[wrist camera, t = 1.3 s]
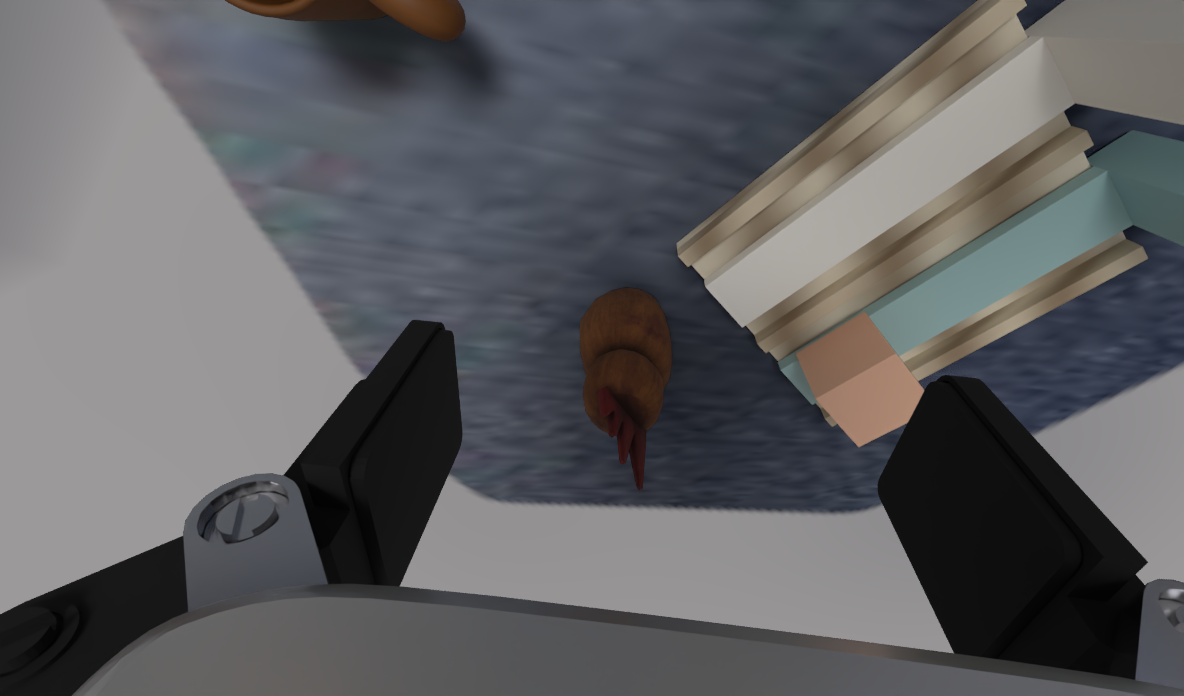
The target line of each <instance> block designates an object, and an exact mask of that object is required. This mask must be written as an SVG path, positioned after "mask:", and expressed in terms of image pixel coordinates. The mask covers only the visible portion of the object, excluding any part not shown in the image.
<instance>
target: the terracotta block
mask: <svg viewBox="0 0 1184 696" xmlns="http://www.w3.org/2000/svg"><path fill="white" fill-rule="evenodd" d="M796 356H797V358H798V360H799V363H800V365H801V367H802V370H803V372H804V374H805V376H806V379H807V381H808V383H809V386H810V388H811V390H812V392H813V395H814V397H815V399H816V400H817V401H818V402H819V404H820V405H821V406H822V407H823V408H824V409H825V410H826V411H827V412H828V414H829V415H830V416H831V417H832V418H833V419H834V420H835V421H836V422H837V424H838V425H839V426H840V427H841V428H842V429H843V430H844V431H845V433H846V434H847V435H848V436H849V437H850V438H851V439H852V440H853V441H854V443H855V444H856V445H857V446H858V447H860V446H862V445H864V444H866V443H868V442H870V441H872V440H874V439H876V438H878V437H880V436H882V435H884V434H886V433H888V432H890V431H892V430H894V429H896V428H898V427H900V426H902V425H904V424H906V423H908V422H909V420H910V418H911V416H912V414H913V412H914V410H915V408H916V406H917V404H918V402H919V400H920V398H921V396H922V394H923V392H924V391H925V390H924V388H923V387H922V386H921V384H920V383H919V382H918V380H917V379H916V378H915V376H914V375H913V374H912V372H911V371H910V370H909V368H908V367H907V366H906V364H905V363H904V362H903V360H902V359H901V358H900V356H899V355H898V354H897V352H896V351H895V350H894V349H893V347H892V346H891V345H890V343H889V342H888V341H887V340H886V338H885V337H884V336H883V334H882V333H881V332H880V330H879V329H878V328H877V327H876V325H875V324H874V323H873V321H872V320H871V319H870V318H869V316H868V315H867V314H866V312H865V311H864V312H863V313H861V314H859V315H858V316H856V317H854V318H853V319H851V320H850V321H848V322H846V323H845V324H843V325H842V326H840V327H838V328H837V329H835V330H833V331H832V332H830V333H829V334H827V335H825V336H824V337H822V338H820V339H819V340H817V341H816V342H814V343H812V344H811V345H809V346H807V347H806V348H804V349H803V350H801V351H799V352H798V353H796Z"/></svg>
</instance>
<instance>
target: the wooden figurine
mask: <svg viewBox="0 0 1184 696" xmlns="http://www.w3.org/2000/svg"><path fill="white" fill-rule="evenodd" d="M580 353H581V357H582V362H583V366H584V371H585V373H586V378H585V383H584V387H583V398H584V406H585V411H586V413H587V414H588V416H589V418H590V419H591V421H592V422H593V423H594V424H595V425H596V426H597V427H598V428H599V429H601V430H603V431H604V432H606V433H608V434H609V436H610V437H611V438H612V437H614V436H617V441H618V451H619V460H620V463H621V464H624V463H626V460H627V457H628V453H630V458H631V463H632V468H633V472H634V477H635V482H636V486H637V488H638V490H641V489H642V488H643V478H644V463H645V449H646V431H647V430H649V429H650V428H651V427H652V426H653V424H654V423H655V422H656V421H657V419H658V417H659V414H660V411H661V409H662V406H663V389H664V388H665V386H666V385H667V383H668V381H669V379H670V373H671V366H672V346H671V338H670V332H669V328H668V325H667V321H666V318H665V314H664V312H663V310H662V309H661V307H660V305H659V304H658V302H657V301H656V299H655V298H654V297H653V296H651V295H649V294H648V293H646V292H644V291H643V290H641V289H635V288H629V287H625V288H620V289H616V290H612V291H610V292H608V293H606V294H604V295H602V296H600V297H599V298H597V299H596V300H595V301H594V302H593V304H592V305H591V306H590V308H589V309H588V310H587V312H586V313H585V314H584V316H583V317H582V319H581V323H580Z"/></svg>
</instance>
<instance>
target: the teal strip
mask: <svg viewBox="0 0 1184 696" xmlns="http://www.w3.org/2000/svg"><path fill="white" fill-rule="evenodd" d="M1087 160H1088V162H1089V164H1090V166H1091V168H1090V169H1089V170H1087V171H1085V172H1084V173H1082V174H1081V175H1079V176H1077V177H1076V178H1074V179H1073V180H1071V181H1069V182H1068V183H1066V184H1064V185H1063V186H1061V187H1060V188H1058V189H1056V190H1055V191H1053V192H1052V193H1050V194H1048V195H1047V196H1045V197H1043V198H1042V199H1040V200H1039V201H1037V202H1035V203H1034V204H1032V205H1031V206H1029V207H1027V208H1026V209H1024V210H1022V211H1021V212H1019V213H1018V214H1016V215H1014V216H1013V217H1011V218H1010V219H1008V220H1006V221H1005V222H1003V223H1001V224H1000V225H998V226H997V227H995V228H993V229H992V230H990V231H989V232H987V233H985V234H984V235H982V236H981V237H979V238H977V239H976V240H974V241H972V242H971V243H969V244H968V245H966V246H964V247H963V248H961V249H960V250H958V251H956V252H955V253H953V254H951V255H950V256H948V257H947V258H945V259H943V260H942V261H940V262H939V263H937V264H935V265H934V266H932V267H930V268H929V269H927V270H926V271H924V272H922V273H921V274H919V275H918V276H916V277H914V278H913V279H911V280H909V281H908V282H906V283H905V284H903V285H901V286H900V287H898V288H897V289H895V290H893V291H892V292H890V293H888V294H887V295H885V296H884V297H882V298H880V299H879V300H877V301H876V302H874V303H872V304H871V305H869V306H868V307H866V308H864V309H863V310H861V311H859V312H858V313H856V314H855V315H853V316H851V317H850V318H848V319H847V320H845V321H843V322H842V323H840V324H838V325H837V326H835V327H834V328H832V329H830V330H829V331H827V332H826V333H824V334H822V335H821V336H819V337H817V338H816V339H814V340H813V341H811V342H809V343H808V344H806V345H805V346H803V347H801V348H800V349H798V350H796V351H795V352H793V353H792V354H790V355H788V356H787V357H785V358H784V359H782V360H780V361H779V362H778V365H779V367H780V370H781V371H782V372H783V373H784V375H785V376H786V377H787V378H788V379H789V380H790V381H791V382H792V383H793V384H794V386H795V387H796V388H797V389H798V390H799V391H800V392H801V393H802V394H803V396H804V397H805V398H806V399H807V400H808V401H809V402H810V403H811V404H812V405H813V404H815V403H817V402H818V401H817V400H816V399H815V397H814V395H813V392H812V390H811V388H810V386H809V383H808V381H807V379H806V376H805V374H804V372H803V370H802V367H801V365H800V363H799V360H798V358H797V356H796V353H798V352H799V351H801V350H803V349H804V348H806V347H807V346H809V345H811V344H812V343H814V342H816V341H817V340H819V339H820V338H822V337H824V336H825V335H827V334H829V333H830V332H832V331H833V330H835V329H837V328H838V327H840V326H842V325H843V324H845V323H846V322H848V321H850V320H851V319H853V318H854V317H856V316H858V315H859V314H861V313H863V312H864V311H865V312H866V314H867V315H868V316H869V318H870V319H871V320H872V321H873V323H874V324H875V325H876V327H877V328H878V329H879V330H880V332H881V333H882V334H883V336H884V337H885V338H886V340H887V341H888V342H889V343H890V345H891V346H892V347H893V349H894V350H895V351H896V352H897V354H898V355H899V356H900V355H902V354H904V353H906V352H908V351H909V350H911V349H913V348H915V347H916V346H918V345H920V344H922V343H924V342H925V341H927V340H929V339H931V338H932V337H934V336H936V335H938V334H940V333H941V332H943V331H945V330H947V329H949V328H950V327H952V326H954V325H956V324H957V323H959V322H961V321H963V320H965V319H966V318H968V317H970V316H972V315H973V314H975V313H977V312H979V311H981V310H982V309H984V308H986V307H988V306H989V305H991V304H993V303H995V302H997V301H998V300H1000V299H1002V298H1004V297H1006V296H1007V295H1009V294H1011V293H1013V292H1014V291H1016V290H1018V289H1020V288H1022V287H1023V286H1025V285H1027V284H1029V283H1030V282H1032V281H1034V280H1036V279H1038V278H1039V277H1041V276H1043V275H1045V274H1047V273H1048V272H1050V271H1052V270H1054V269H1055V268H1057V267H1059V266H1061V265H1063V264H1064V263H1066V262H1068V261H1070V260H1071V259H1073V258H1075V257H1077V256H1079V255H1080V254H1082V253H1084V252H1086V251H1087V250H1089V249H1091V248H1093V247H1095V246H1096V245H1098V244H1100V243H1102V242H1104V241H1105V240H1107V239H1109V238H1111V237H1112V236H1114V235H1116V234H1118V233H1120V232H1121V231H1123V230H1125V229H1127V228H1128V227H1130V226H1132V225H1135V226H1137V227H1139V228H1142V229H1144V230H1146V231H1149V232H1151V233H1153V234H1156V235H1158V236H1161V237H1163V238H1165V239H1168V240H1170V241H1172V242H1175V243H1177V244H1179V245H1182V246H1184V142H1183V141H1178V140H1174V139H1170V138H1165V137H1161V136H1157V135H1152V134H1148V133H1144V132H1139V131H1135V130H1131V131H1130V132H1128V133H1127V134H1125V135H1123V136H1122V137H1120V138H1119V139H1117V140H1115V141H1114V142H1112V143H1111V144H1109V145H1108V146H1106V147H1104V148H1103V149H1101V150H1100V151H1098V152H1096V153H1095V154H1093V155H1092V156H1090V157H1088V158H1087Z"/></svg>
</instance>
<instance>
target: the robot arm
mask: <svg viewBox="0 0 1184 696" xmlns="http://www.w3.org/2000/svg"><path fill="white" fill-rule="evenodd" d="M461 442H462V422H461V411H460V400H459V389H458V378H457V367H456V356H455V345H454V336H453V333H452V331H449V330H445V327H444V325H443V324H442V323H441V322H431V321H421V320H412V321H411V322H410V323H409V324H408V326H407V327H406V328H405V330H404V331H403V332H402V333H401V335H400V336H399V337H398V339H397V340H396V341H395V342H394V344H393V345H392V346H391V347H390V349H389V350H388V351H387V353H386V354H385V355H384V356H383V358H382V359H381V360H380V362H379V363H378V364H377V365H376V367H375V368H374V369H373V371H372V372H371V373H370V374H369V376H368V377H367V378H366V379H364V380H361V381H359V382H358V383H357V384H356V385H355V386H354V387H353V389H352V390H351V391H350V392H349V394H348V395H347V397H346V398H345V399H344V400H343V401H342V403H341V404H340V405H339V406H338V408H337V409H336V410H335V411H334V413H333V414H332V415H331V416H330V418H329V419H328V420H327V421H326V423H325V424H324V425H323V426H322V428H321V429H320V430H319V431H318V433H317V434H316V435H315V437H314V438H313V439H312V440H311V442H310V443H309V444H308V445H307V446H306V448H305V449H304V450H303V451H302V453H301V454H300V455H299V457H298V458H297V459H296V460H295V462H294V463H293V464H292V465H291V467H290V468H289V469H288V470H287V472H286V473H285V474H284V475H277V474H272V473H269V474H254V475H250V476H246V477H242V478H238V479H236V480H233V481H231V482H229V483H226V484H224V485H222V486H220V487H219V488H217V489H216V490H214V491H213V492H211V493H209V494H208V495H206V496H205V497H204V498H203V499H202V500H201V501H200V502H199V503H198V504H197V505H196V506H195V507H194V508H193V509H192V511H191V513H190V514H189V516H188V517H187V519H186V520H185V526H184V531H183V536H182V537H179V538H177V539H175V540H172V541H170V542H167V543H165V544H162V545H160V546H158V547H155V548H153V549H151V550H148V551H146V552H143V553H141V554H139V555H136V556H134V557H131V558H129V559H127V560H124V561H122V562H119V563H117V564H115V565H112V566H110V567H108V568H105V569H103V570H100V571H98V572H96V573H93V574H91V575H89V576H86V577H84V578H81V579H79V580H77V581H74V582H72V583H69V584H67V585H65V586H62V587H60V588H57V589H55V590H53V591H50V592H48V593H45V594H44V595H41V596H38V597H36V598H34V599H31V600H29V601H26V602H24V603H22V604H20V605H18V606H16V607H14V608H12V609H11V610H8V611H6V612H4V613H2V614H0V696H1184V583H1183V582H1180V581H1176V580H1167V579H1166V580H1165V579H1157V580H1154V581H1152V582H1149V583H1147V584H1146V585H1144V584H1143V583H1142V581H1141V580H1140V579H1139V578H1138V577H1137V576H1136V575H1135V574H1136V573H1137V572H1138V571H1139V570H1141V568H1143V566H1145V565H1146V564H1147V563H1148V562H1147V561H1146V560H1145V558H1144V557H1143V556H1142V555H1141V554H1140V553H1139V552H1138V551H1137V550H1136V549H1135V548H1134V546H1132V544H1131V543H1130V542H1129V541H1128V540H1127V539H1126V538H1125V537H1124V536H1123V534H1122V533H1121V532H1120V531H1119V530H1118V529H1117V528H1116V527H1115V526H1114V525H1113V524H1112V523H1111V521H1110V520H1109V519H1108V518H1107V517H1106V516H1105V515H1104V514H1103V513H1102V511H1100V509H1099V508H1098V507H1097V506H1096V505H1095V504H1094V503H1093V502H1092V501H1091V499H1090V498H1089V497H1088V496H1087V495H1086V494H1085V493H1084V492H1083V491H1082V490H1081V489H1080V487H1079V486H1078V485H1077V484H1076V483H1075V482H1074V481H1073V480H1072V479H1071V478H1070V477H1069V475H1068V474H1067V473H1066V472H1065V471H1064V470H1063V469H1062V468H1061V467H1060V466H1059V464H1058V463H1057V462H1056V461H1055V460H1054V459H1053V458H1052V457H1051V456H1050V455H1049V454H1048V453H1047V451H1046V450H1045V449H1044V448H1043V447H1042V446H1041V445H1040V444H1039V443H1038V442H1037V441H1036V439H1035V438H1034V437H1033V436H1032V435H1031V434H1030V433H1029V432H1028V431H1027V430H1026V428H1025V427H1024V426H1023V425H1022V424H1021V423H1020V422H1019V421H1018V420H1017V419H1016V418H1015V416H1014V415H1013V414H1012V413H1011V412H1010V411H1009V410H1008V409H1007V408H1006V407H1005V405H1004V404H1003V403H1002V402H1001V401H1000V400H999V399H998V398H997V397H996V396H995V395H994V393H993V392H992V391H991V390H990V389H989V388H988V387H987V386H986V385H985V384H984V383H983V382H982V381H981V380H980V379H976V378H969V377H959V376H950V375H945V376H941V377H940V378H939V379H937V381H936V382H935V381H934V382H931V383H929V384H928V386H927V387H926V389H925V391H924V392H923V394H922V396H921V398H920V400H919V402H918V404H917V406H916V408H915V410H914V412H913V414H912V416H911V418H910V420H909V422H908V424H907V426H906V427H905V429H904V431H903V433H902V435H901V437H900V439H899V441H898V443H897V445H896V447H895V449H894V451H893V453H892V455H891V457H890V459H889V461H888V462H887V464H886V466H885V468H884V470H883V472H882V474H881V476H880V478H879V481H878V495H879V497H880V500H881V502H882V504H883V506H884V508H885V510H886V512H887V514H888V516H889V518H890V520H891V522H892V525H893V527H894V529H895V531H896V533H897V535H898V537H899V539H900V541H901V543H902V546H903V548H904V550H905V552H906V554H907V556H908V558H909V560H910V562H911V564H912V566H913V568H914V570H915V573H916V575H917V577H918V579H919V581H920V583H921V585H922V587H923V589H924V591H925V594H926V596H927V598H928V600H929V602H930V604H931V606H932V608H933V610H934V612H935V614H936V616H937V619H938V620H939V623H940V624H941V627H942V629H943V631H944V633H945V635H946V637H947V639H948V641H949V643H950V646H951V648H952V650H953V652H954V654H953V653H946V652H938V651H930V650H923V649H915V648H907V647H900V646H892V645H884V644H877V643H869V642H862V641H854V640H846V639H838V638H831V637H822V636H815V635H807V634H799V633H791V632H783V631H775V630H768V629H760V628H751V627H744V626H736V625H728V624H719V623H712V622H704V621H695V620H688V619H680V618H671V617H663V616H655V615H647V614H638V613H630V612H622V611H614V610H605V609H598V608H589V607H581V606H573V605H564V604H555V603H547V602H539V601H531V600H523V599H514V598H506V597H497V596H488V595H478V594H468V593H458V592H449V591H439V590H430V589H419V588H410V587H399V586H400V584H401V582H402V580H403V577H404V575H405V573H406V570H407V568H408V565H409V563H410V561H411V559H412V557H413V554H414V552H415V550H416V548H417V545H418V543H419V541H420V538H421V536H422V534H423V532H424V529H425V527H426V524H427V522H428V520H429V518H430V515H431V513H432V511H433V509H434V506H435V504H436V502H437V500H438V497H439V495H440V493H441V490H442V488H443V486H444V484H445V481H446V479H447V477H448V474H449V472H450V470H451V468H452V465H453V463H454V461H455V458H456V456H457V454H458V452H459V449H460V446H461Z"/></svg>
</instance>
